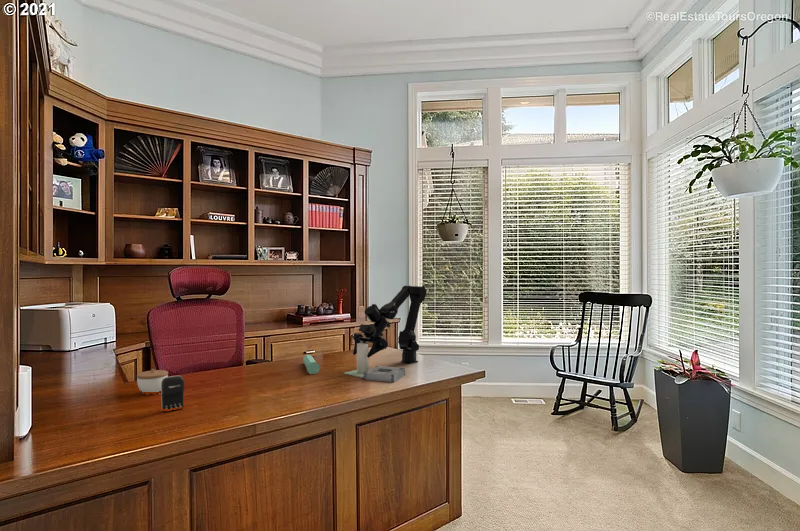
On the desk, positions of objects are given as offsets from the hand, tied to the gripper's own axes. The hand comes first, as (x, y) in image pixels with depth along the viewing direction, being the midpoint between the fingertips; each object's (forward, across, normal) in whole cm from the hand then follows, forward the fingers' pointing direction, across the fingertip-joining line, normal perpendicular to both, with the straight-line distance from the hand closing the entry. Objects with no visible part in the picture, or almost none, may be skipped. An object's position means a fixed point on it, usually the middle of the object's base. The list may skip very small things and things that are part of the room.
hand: (360, 355), depth 212 cm
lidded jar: (+59, -39, -47) cm, 84 cm away
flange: (+4, +13, +8) cm, 15 cm away
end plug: (+5, 0, +6) cm, 8 cm away
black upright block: (+61, -10, -50) cm, 79 cm away
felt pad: (+5, 0, +7) cm, 8 cm away
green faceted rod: (+11, -27, +1) cm, 30 cm away
